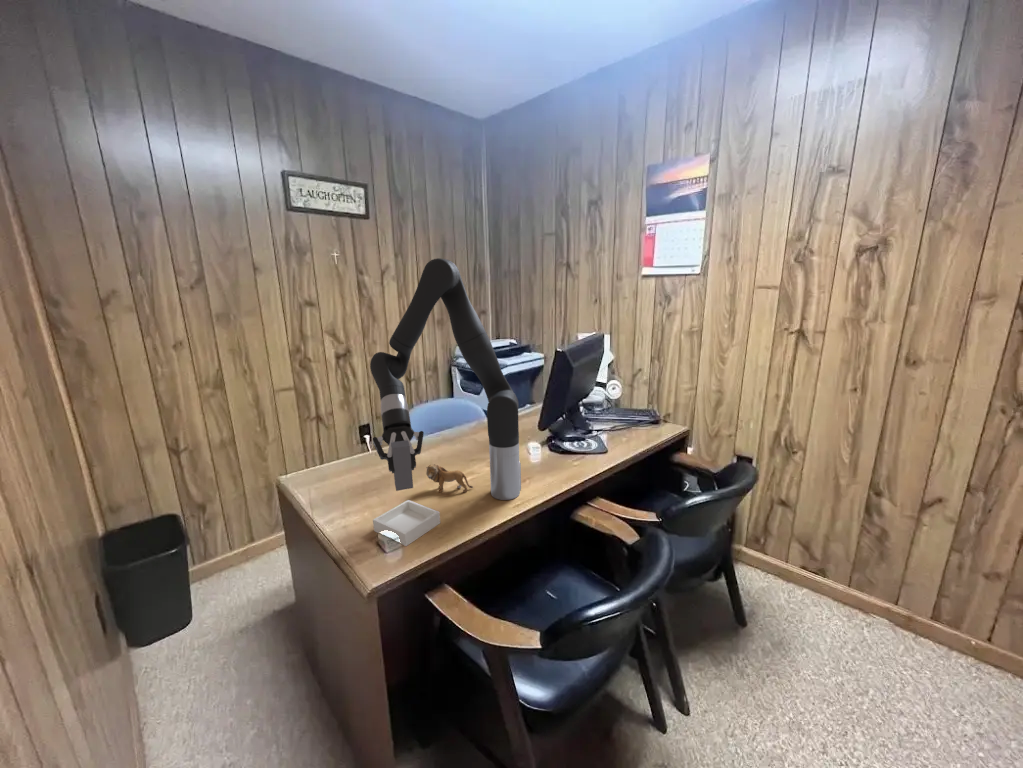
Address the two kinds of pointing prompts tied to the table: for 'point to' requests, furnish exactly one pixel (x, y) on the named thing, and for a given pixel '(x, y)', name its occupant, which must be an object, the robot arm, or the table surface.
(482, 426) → the table surface
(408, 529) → the tray
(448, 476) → the lion figurine
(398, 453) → the handle block
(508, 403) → the robot arm
